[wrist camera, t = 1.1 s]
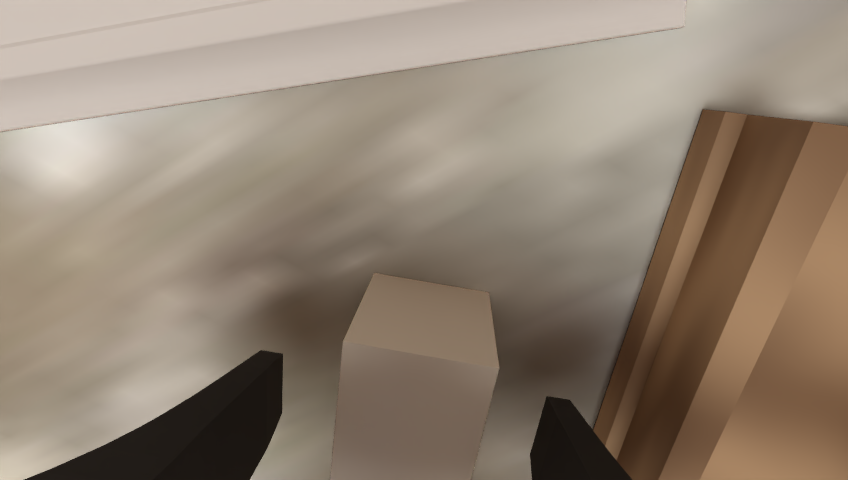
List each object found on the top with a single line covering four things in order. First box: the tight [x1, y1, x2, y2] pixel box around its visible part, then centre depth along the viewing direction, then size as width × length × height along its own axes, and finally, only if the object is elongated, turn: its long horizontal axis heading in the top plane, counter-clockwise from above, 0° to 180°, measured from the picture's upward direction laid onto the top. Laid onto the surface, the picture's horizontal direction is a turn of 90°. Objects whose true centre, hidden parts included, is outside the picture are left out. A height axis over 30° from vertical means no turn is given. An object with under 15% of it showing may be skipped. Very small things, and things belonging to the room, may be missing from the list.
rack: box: [593, 109, 848, 480], centre depth 12 cm, size 16×9×3 cm, turn 173°
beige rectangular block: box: [330, 273, 499, 480], centre depth 14 cm, size 12×4×4 cm, turn 172°
